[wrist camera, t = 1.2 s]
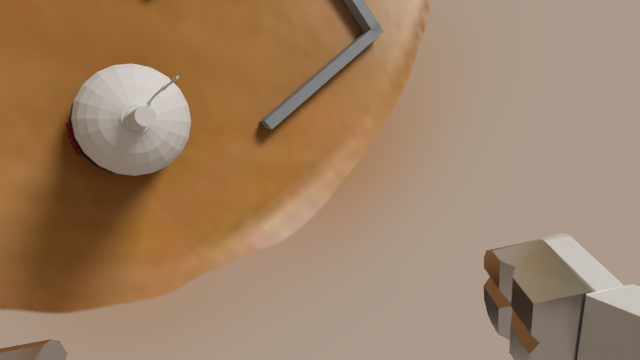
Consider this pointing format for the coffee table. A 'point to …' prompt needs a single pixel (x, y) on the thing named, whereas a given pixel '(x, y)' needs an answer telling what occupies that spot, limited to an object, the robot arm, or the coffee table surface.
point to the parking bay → (329, 63)
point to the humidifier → (129, 120)
